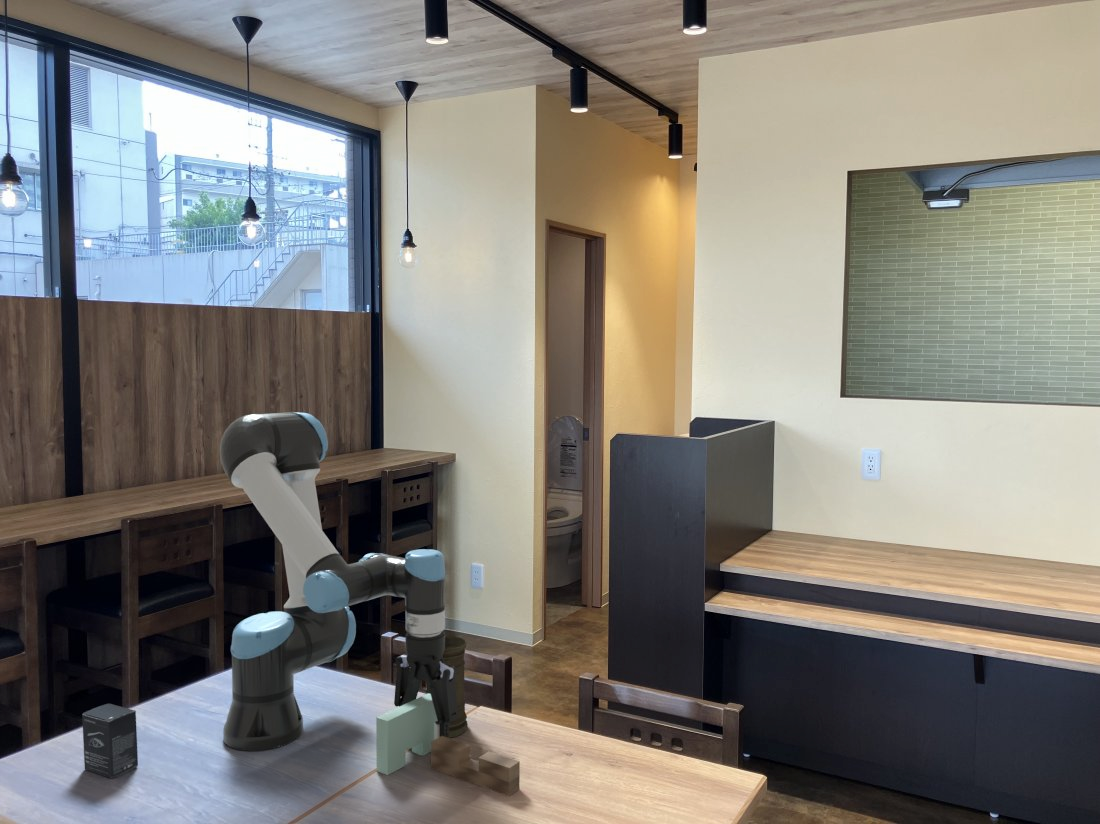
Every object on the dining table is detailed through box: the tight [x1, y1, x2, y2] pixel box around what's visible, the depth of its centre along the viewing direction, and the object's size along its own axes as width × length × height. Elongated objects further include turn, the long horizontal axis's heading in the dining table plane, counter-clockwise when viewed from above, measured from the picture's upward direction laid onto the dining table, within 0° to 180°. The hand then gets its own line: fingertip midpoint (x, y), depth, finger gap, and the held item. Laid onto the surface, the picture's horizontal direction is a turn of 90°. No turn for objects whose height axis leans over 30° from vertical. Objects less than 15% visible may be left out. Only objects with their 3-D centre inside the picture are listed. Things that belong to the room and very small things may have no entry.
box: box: [81, 703, 139, 779], centre depth 154 cm, size 8×6×11 cm
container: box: [426, 635, 468, 738], centre depth 172 cm, size 9×9×18 cm
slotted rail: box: [430, 736, 521, 797], centre depth 151 cm, size 18×3×5 cm, turn 56°
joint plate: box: [375, 693, 438, 776], centre depth 159 cm, size 14×3×10 cm, turn 146°
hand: (425, 748), depth 163 cm, fingers open, 7 cm apart
